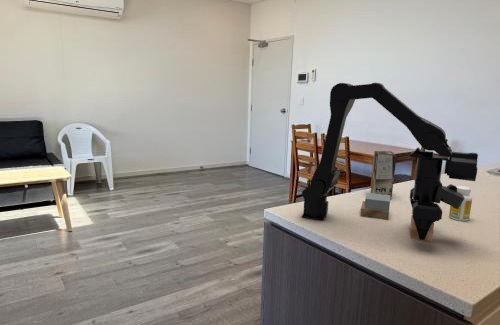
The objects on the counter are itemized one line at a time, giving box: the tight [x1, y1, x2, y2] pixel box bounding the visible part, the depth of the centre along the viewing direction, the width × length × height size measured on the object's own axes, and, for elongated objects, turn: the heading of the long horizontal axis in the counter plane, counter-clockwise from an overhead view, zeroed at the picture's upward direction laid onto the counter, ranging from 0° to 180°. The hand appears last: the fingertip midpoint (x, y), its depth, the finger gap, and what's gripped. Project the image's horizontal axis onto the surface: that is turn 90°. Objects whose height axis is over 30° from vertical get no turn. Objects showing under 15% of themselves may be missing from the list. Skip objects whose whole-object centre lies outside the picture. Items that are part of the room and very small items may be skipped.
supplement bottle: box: [448, 185, 473, 222], centre depth 108 cm, size 5×5×10 cm
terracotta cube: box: [409, 214, 435, 243], centre depth 93 cm, size 5×5×5 cm
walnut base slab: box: [359, 200, 390, 221], centre depth 111 cm, size 8×8×3 cm
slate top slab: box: [364, 192, 391, 212], centre depth 110 cm, size 7×7×3 cm
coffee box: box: [370, 150, 397, 201], centre depth 129 cm, size 9×6×16 cm
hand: (420, 233), depth 94 cm, fingers open, 9 cm apart
